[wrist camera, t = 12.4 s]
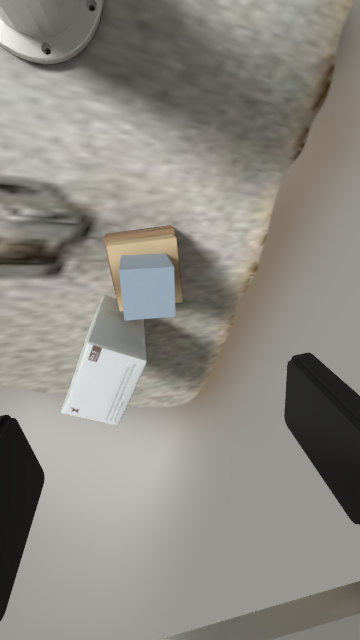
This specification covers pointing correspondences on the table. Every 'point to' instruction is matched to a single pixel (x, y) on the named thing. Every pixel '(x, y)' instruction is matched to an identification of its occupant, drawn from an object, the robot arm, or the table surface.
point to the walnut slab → (136, 234)
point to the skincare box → (107, 366)
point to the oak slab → (144, 246)
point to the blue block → (147, 286)
